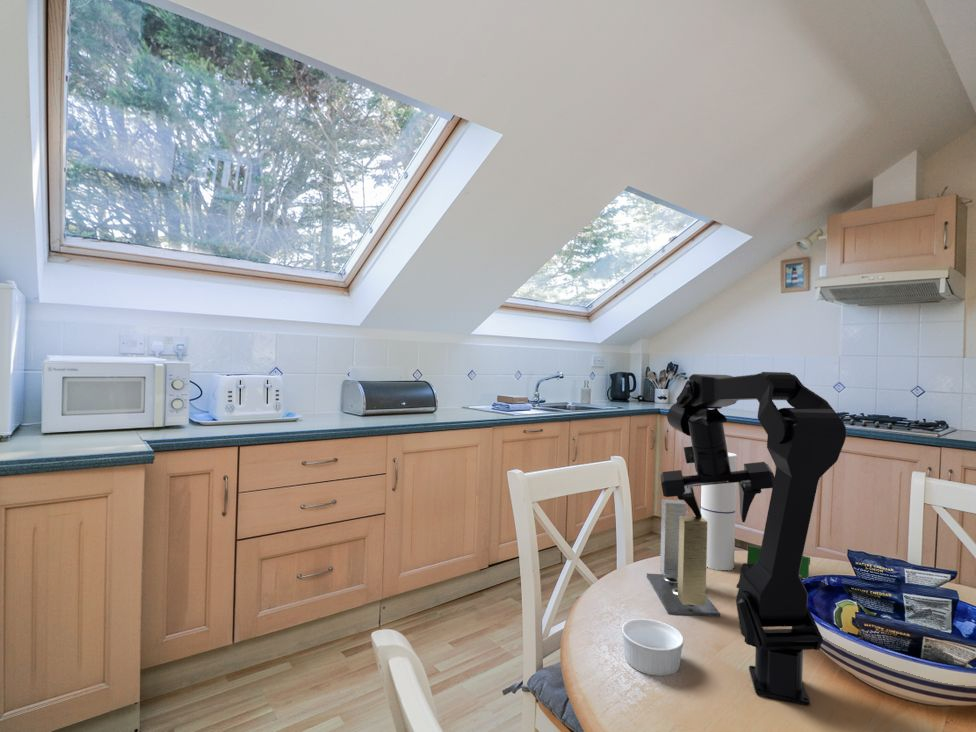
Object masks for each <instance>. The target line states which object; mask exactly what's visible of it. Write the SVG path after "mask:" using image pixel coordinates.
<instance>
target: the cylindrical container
mask: <svg viewBox="0 0 976 732" xmlns="http://www.w3.org/2000/svg"><path fill="white" fill-rule="evenodd" d="M728 457H729V463H730V469H731V472H734V471H738V470H737V464H738V463H737V461H738V454H736V453H733V452H729V451H728ZM700 491H701V492H700V512H701V515H702V517H703V518H704V519H705V520H706V521H707V560H706V568H707V567H708V568H707V569H710V570H714V569H715V570H714V571H721V570H728V571H732V570H734V569H733V568H735V546H736V545H735V544H736V543H735V541H736V540H735V539H736V538H735V536H736V507H737V505H736V503H737V499H736V498H737V482H735V483H724V484H713V485H702V486H700ZM731 569H732V570H731Z"/></svg>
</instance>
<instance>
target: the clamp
mask: <svg viewBox="0 0 976 732" xmlns="http://www.w3.org/2000/svg"><path fill="white" fill-rule="evenodd" d="M760 551H761V546H755V545H748V546H747V560H746V561H747V562H746V563H756V562H757V561H758V560H759V557H760ZM810 565H811V557H810V556H806V555H803V556H802V561H801V566H800V570H799V576H800V577H802V579H803V578H807V577H808V578H809V577H810V575H809V574H810V573H809V572H810Z"/></svg>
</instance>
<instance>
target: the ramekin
mask: <svg viewBox="0 0 976 732" xmlns="http://www.w3.org/2000/svg"><path fill="white" fill-rule="evenodd" d="M621 634H622V641H623V655H624V659H625V661H626V662H627V664H628V665H630V666H631V667H632V668H633V669H635V670H637V671H638V672H641V673H643V674H645V673H646V674H645V675H649V674H650V676H654V677H665V676H671V675H673V674H675V673H676V672H677V671H678V670H679V668H680V666H681V665H680V664H681V658H682V649H683V647H684V642H685V640H684V639H685V638H684V636H683V634H682V633H681V632H680V631H679V630H678V629H677V628H675V627H673V626H671V625H670V624H668V623H665V622H663V621H659V620H656V619H655V620H654V619H650V618H634V619H630V620H627V621H625V622H624V623H623V625H622V626H621Z"/></svg>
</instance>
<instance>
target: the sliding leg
mask: <svg viewBox="0 0 976 732" xmlns="http://www.w3.org/2000/svg"><path fill="white" fill-rule="evenodd" d="M706 560H707V521H706V520H705V519H704V518H703V517H696V516H695V515H694V516H691V515H686V516H679V555H678V594H677V597H678V599H679V600H680V602H681V603H682V604H683V605H689V606H694V605H701V606H705V599H706V596H707V595H706V592H707V589H706V588H707V567H706Z"/></svg>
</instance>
